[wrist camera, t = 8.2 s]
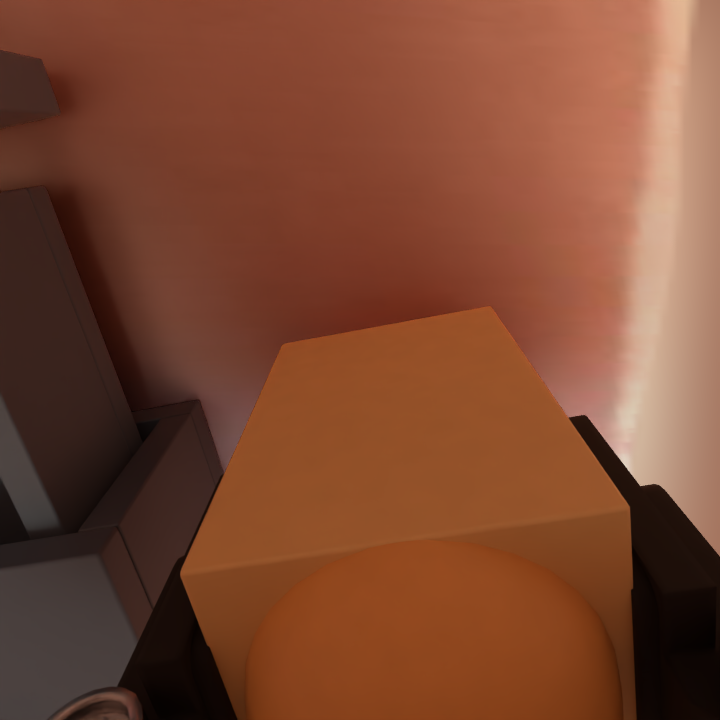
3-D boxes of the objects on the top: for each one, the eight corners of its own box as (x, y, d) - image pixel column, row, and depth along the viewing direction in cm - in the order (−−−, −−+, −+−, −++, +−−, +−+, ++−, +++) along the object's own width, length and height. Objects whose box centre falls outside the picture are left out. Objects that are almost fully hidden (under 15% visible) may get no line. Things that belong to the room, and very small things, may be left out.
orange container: (281, 343, 13) (98, 743, 4) (491, 304, 12) (743, 665, 4) (330, 529, 14) (268, 1074, 6) (515, 501, 14) (727, 1045, 6)
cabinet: (-231, 475, 18) (-547, 654, 12) (199, 399, 17) (98, 554, 11) (-40, 765, 23) (-194, 1001, 17) (306, 723, 22) (280, 961, 16)
